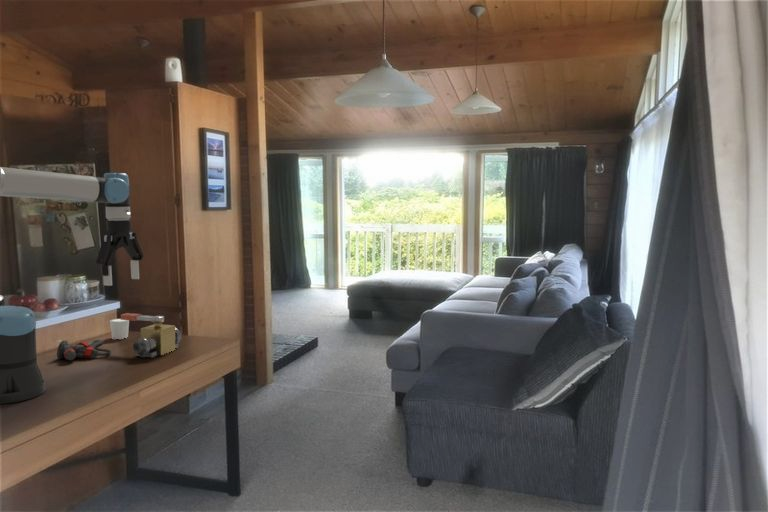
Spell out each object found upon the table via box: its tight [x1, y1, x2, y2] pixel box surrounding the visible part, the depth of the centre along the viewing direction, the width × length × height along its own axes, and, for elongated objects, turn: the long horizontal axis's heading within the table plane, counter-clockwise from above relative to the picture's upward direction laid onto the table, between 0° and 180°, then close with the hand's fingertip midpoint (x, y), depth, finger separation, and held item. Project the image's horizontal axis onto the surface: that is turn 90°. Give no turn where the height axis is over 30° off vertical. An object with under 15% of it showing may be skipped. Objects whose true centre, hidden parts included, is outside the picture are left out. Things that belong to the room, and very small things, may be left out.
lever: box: [120, 312, 165, 324], centre depth 196 cm, size 16×4×2 cm, turn 75°
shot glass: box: [109, 318, 130, 340], centre depth 214 cm, size 7×7×7 cm
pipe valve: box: [132, 322, 182, 359], centre depth 195 cm, size 18×8×11 cm, turn 165°
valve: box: [56, 338, 112, 361], centre depth 192 cm, size 6×26×15 cm
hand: (122, 282), depth 188 cm, fingers open, 13 cm apart
